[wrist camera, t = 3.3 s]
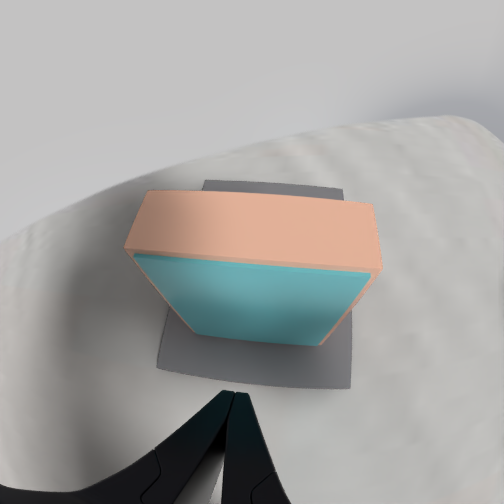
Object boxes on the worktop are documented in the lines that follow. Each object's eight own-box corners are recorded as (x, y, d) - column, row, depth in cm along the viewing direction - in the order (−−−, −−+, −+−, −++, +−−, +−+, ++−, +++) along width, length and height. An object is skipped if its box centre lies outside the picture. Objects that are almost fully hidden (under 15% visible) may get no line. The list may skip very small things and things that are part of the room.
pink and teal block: (321, 347, 16) (383, 273, 7) (193, 334, 17) (121, 251, 8) (322, 307, 17) (372, 203, 9) (200, 296, 18) (147, 190, 9)
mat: (348, 389, 15) (350, 388, 14) (159, 368, 16) (156, 367, 16) (341, 193, 23) (342, 189, 23) (206, 184, 24) (205, 180, 24)
